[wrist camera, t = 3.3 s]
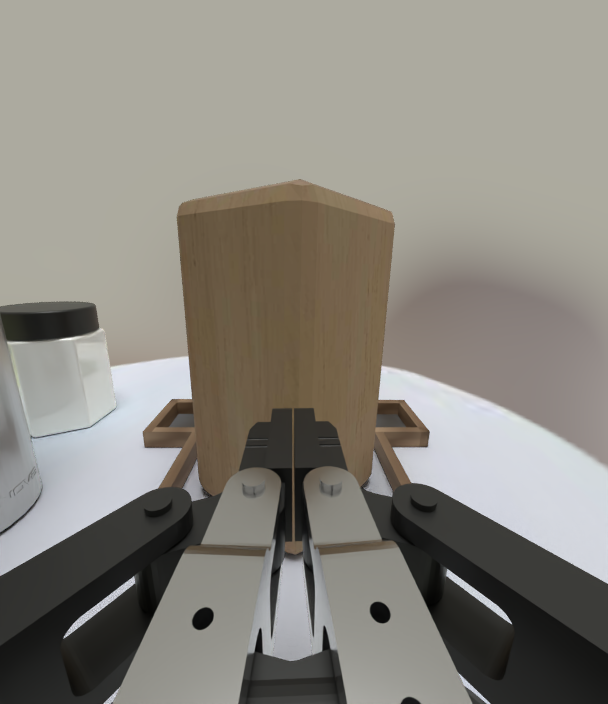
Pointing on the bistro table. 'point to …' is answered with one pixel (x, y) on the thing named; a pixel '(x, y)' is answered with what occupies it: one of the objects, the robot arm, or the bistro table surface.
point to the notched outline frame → (391, 431)
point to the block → (283, 318)
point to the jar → (59, 364)
